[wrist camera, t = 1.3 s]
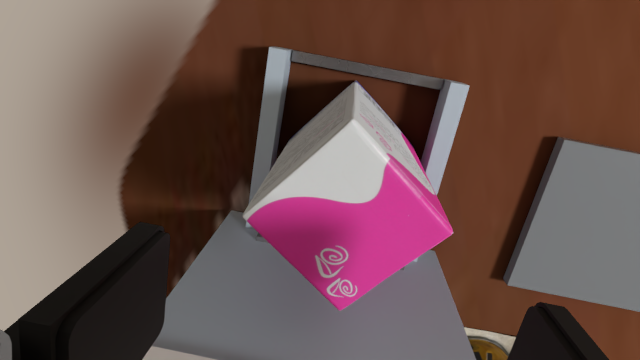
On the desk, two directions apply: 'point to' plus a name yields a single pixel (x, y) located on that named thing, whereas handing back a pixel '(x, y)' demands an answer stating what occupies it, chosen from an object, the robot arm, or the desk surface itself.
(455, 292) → the desk surface
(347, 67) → the bar
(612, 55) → the desk surface
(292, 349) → the dispenser
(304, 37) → the desk surface
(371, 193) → the supplement box
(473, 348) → the condiment
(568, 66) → the desk surface
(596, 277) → the coaster
